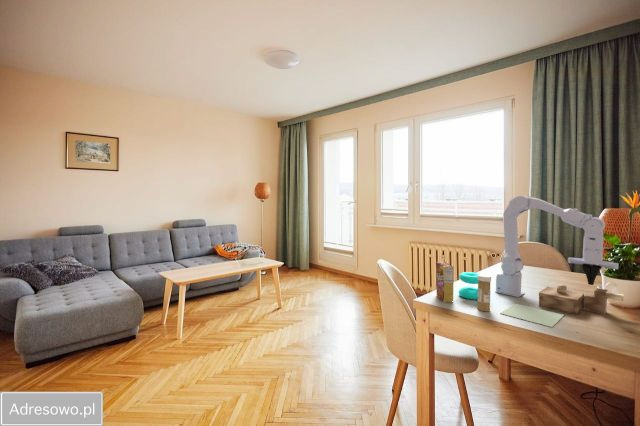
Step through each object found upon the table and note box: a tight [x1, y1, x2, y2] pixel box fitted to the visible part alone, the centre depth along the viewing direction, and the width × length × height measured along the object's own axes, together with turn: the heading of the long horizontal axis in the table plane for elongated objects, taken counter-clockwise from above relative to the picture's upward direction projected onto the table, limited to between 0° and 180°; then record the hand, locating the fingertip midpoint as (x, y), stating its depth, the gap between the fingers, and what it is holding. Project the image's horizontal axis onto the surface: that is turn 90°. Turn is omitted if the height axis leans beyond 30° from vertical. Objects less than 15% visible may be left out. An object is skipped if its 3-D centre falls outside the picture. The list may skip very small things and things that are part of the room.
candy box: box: [436, 261, 455, 303], centre depth 133 cm, size 9×4×15 cm, turn 179°
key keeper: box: [583, 287, 608, 315], centre depth 120 cm, size 6×4×8 cm, turn 41°
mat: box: [499, 303, 565, 328], centre depth 116 cm, size 16×16×1 cm
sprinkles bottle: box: [476, 273, 492, 312], centre depth 121 cm, size 5×5×14 cm
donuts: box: [458, 271, 480, 301], centre depth 137 cm, size 10×10×10 cm
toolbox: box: [538, 295, 585, 316], centre depth 124 cm, size 12×12×4 cm
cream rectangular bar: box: [593, 289, 625, 302], centre depth 117 cm, size 8×2×2 cm, turn 41°
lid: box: [538, 283, 585, 303], centre depth 124 cm, size 12×12×4 cm
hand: (590, 284), depth 120 cm, fingers closed
